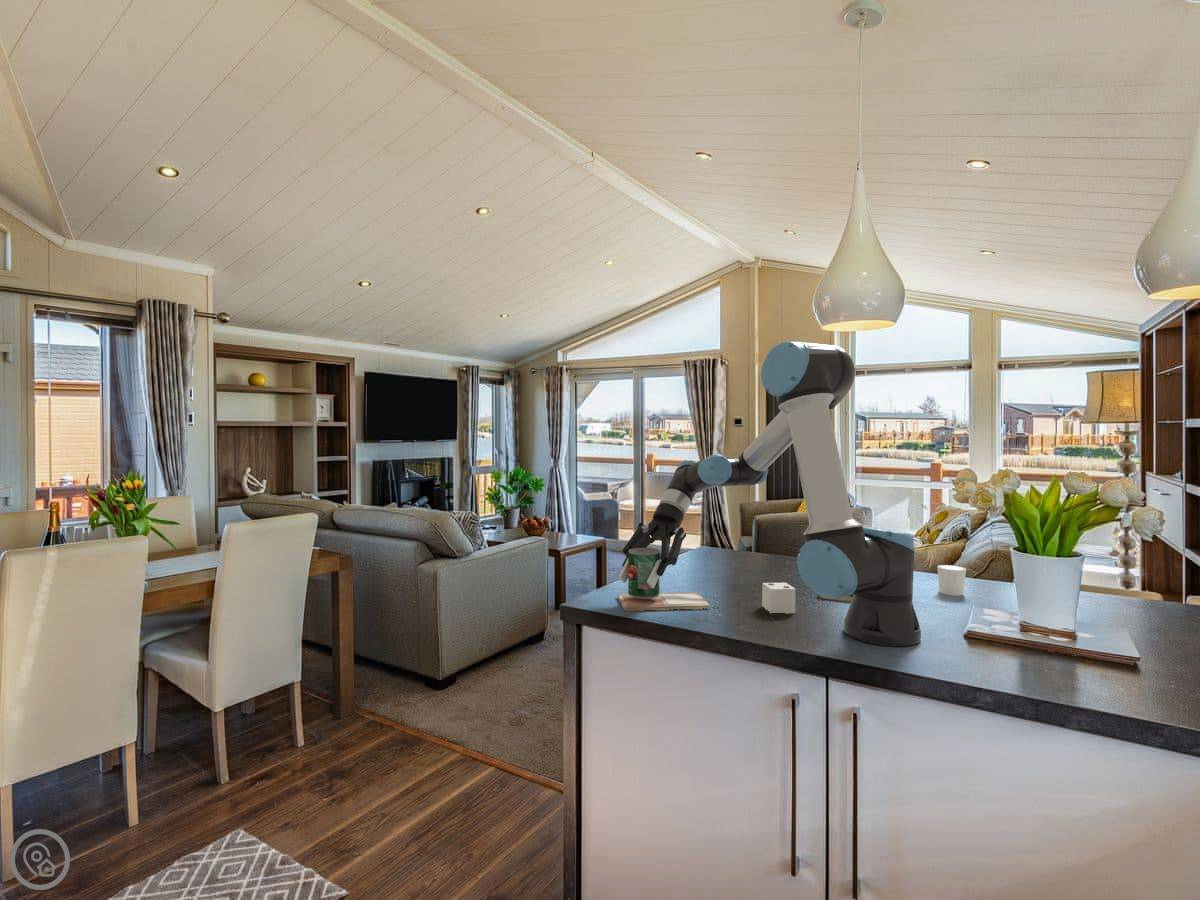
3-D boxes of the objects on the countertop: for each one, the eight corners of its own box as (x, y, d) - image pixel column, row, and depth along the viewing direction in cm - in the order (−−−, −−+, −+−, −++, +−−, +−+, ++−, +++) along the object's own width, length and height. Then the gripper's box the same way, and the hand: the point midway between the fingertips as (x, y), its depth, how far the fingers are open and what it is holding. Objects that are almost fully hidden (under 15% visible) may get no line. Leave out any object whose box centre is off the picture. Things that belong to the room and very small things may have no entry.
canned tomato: (665, 595, 159) (666, 552, 158) (639, 600, 155) (639, 555, 154) (647, 588, 166) (648, 546, 165) (622, 592, 162) (622, 549, 161)
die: (795, 613, 153) (795, 588, 153) (771, 614, 153) (771, 588, 152) (785, 606, 159) (785, 582, 159) (762, 606, 159) (762, 582, 158)
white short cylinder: (969, 596, 169) (970, 570, 169) (942, 595, 170) (942, 569, 170) (959, 590, 176) (960, 564, 175) (932, 588, 177) (933, 563, 177)
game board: (710, 609, 156) (710, 604, 156) (625, 611, 154) (625, 607, 154) (697, 595, 168) (697, 591, 168) (618, 597, 166) (618, 593, 166)
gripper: (710, 523, 165) (677, 598, 153) (644, 515, 178) (609, 584, 166) (700, 504, 161) (665, 580, 149) (633, 498, 173) (596, 567, 162)
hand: (635, 582), depth 157 cm, fingers closed on canned tomato, 8 cm apart
